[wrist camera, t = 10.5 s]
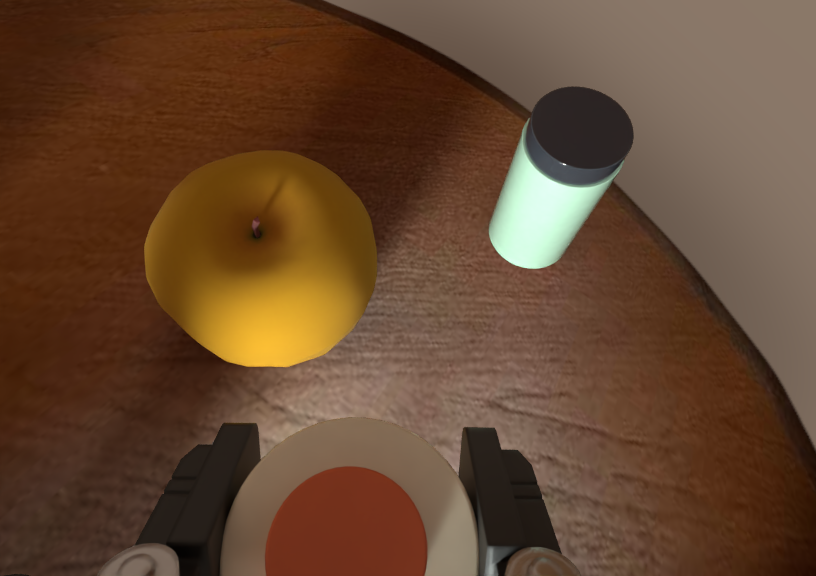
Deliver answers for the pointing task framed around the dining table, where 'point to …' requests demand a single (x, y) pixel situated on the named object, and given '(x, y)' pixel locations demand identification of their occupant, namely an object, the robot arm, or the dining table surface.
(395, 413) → the dining table surface
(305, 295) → the apple
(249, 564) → the cream bottle
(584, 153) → the celadon jar
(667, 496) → the dining table surface
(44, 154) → the dining table surface
